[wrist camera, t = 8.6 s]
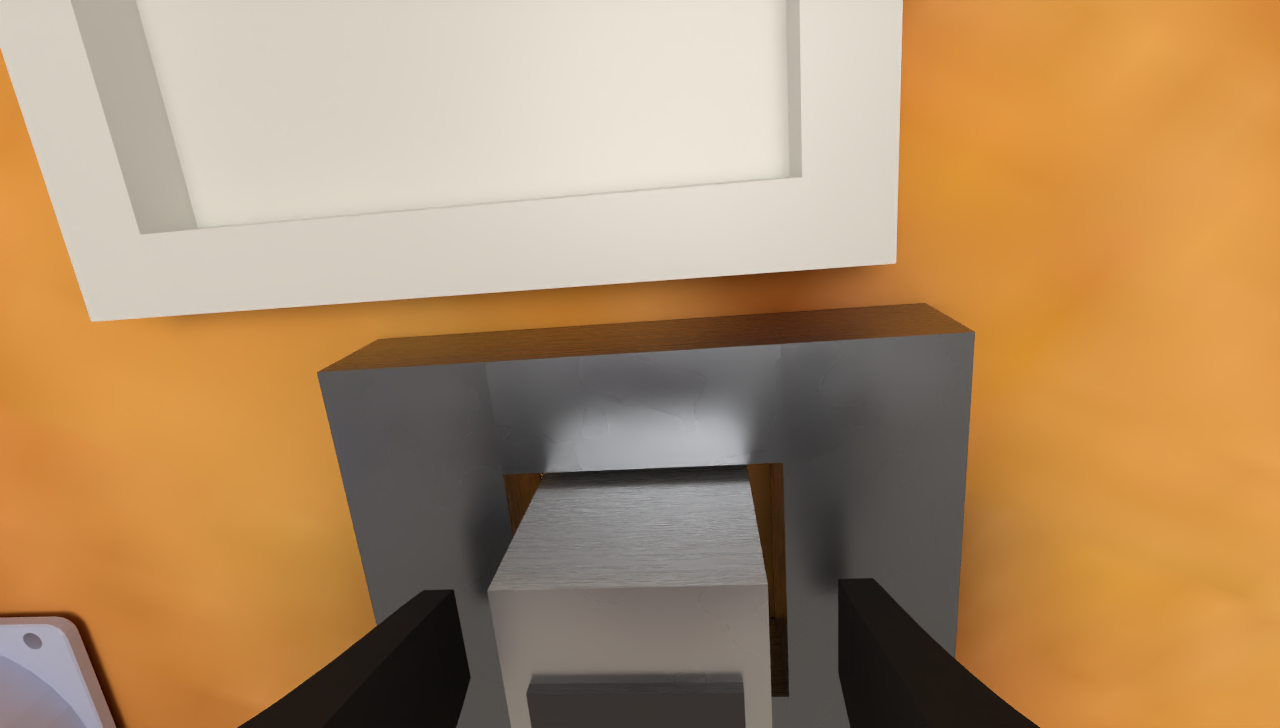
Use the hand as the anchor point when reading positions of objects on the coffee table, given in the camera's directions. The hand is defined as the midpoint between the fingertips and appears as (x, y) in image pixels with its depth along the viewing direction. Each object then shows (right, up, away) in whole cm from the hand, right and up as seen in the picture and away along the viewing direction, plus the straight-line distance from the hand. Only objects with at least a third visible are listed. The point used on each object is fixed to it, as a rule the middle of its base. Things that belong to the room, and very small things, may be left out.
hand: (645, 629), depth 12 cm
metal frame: (+1, -4, +5) cm, 6 cm away
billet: (0, +2, +3) cm, 4 cm away
